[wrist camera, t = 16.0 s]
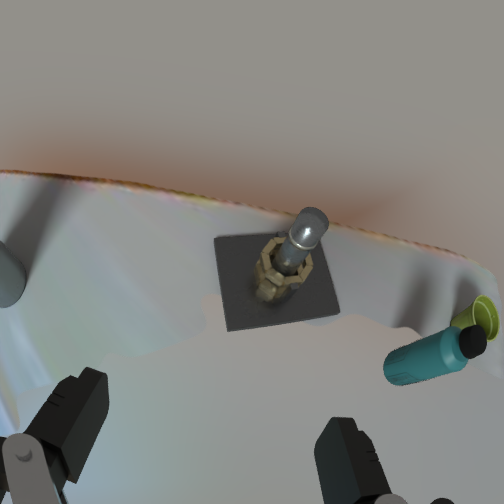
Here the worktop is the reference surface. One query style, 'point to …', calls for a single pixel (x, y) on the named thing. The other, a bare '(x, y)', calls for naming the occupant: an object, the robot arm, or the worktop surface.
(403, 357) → the beverage bottle
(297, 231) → the glossy dome-topped cylinder
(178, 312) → the worktop surface
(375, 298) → the worktop surface
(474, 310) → the plant pot
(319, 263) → the dark square plate
